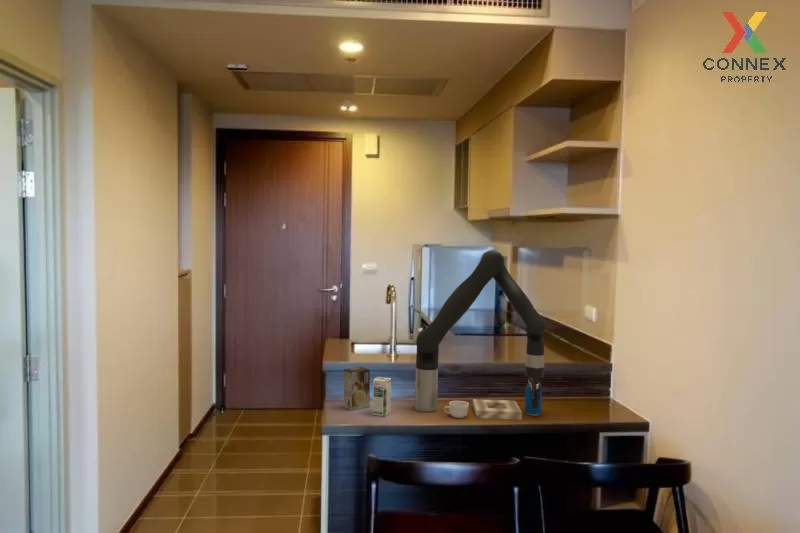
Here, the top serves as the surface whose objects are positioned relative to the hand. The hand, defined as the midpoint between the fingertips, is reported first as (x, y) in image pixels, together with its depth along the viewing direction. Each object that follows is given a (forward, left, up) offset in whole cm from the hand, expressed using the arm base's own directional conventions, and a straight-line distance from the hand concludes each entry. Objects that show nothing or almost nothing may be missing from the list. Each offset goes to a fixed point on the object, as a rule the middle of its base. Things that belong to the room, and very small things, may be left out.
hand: (533, 405), depth 238 cm
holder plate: (-15, 0, -4) cm, 15 cm away
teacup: (-32, -7, -4) cm, 33 cm away
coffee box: (-73, +1, -4) cm, 73 cm away
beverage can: (0, 0, -4) cm, 4 cm away
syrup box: (-62, -7, -4) cm, 63 cm away
